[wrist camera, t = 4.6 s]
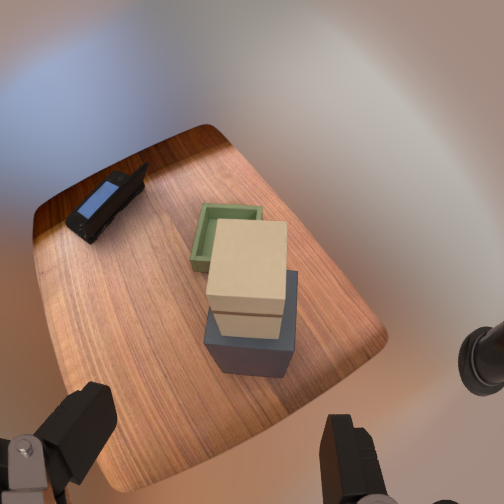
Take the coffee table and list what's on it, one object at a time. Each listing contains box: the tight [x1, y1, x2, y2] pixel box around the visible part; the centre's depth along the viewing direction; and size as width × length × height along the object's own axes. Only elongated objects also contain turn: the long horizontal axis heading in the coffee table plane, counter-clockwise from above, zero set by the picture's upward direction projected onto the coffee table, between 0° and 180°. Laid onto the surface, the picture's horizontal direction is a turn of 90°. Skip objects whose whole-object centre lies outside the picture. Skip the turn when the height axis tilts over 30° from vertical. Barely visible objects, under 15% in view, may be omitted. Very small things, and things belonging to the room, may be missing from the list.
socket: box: [190, 203, 263, 273], centre depth 49 cm, size 10×11×4 cm
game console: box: [65, 162, 149, 244], centre depth 51 cm, size 16×14×9 cm
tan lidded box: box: [206, 219, 287, 339], centre depth 25 cm, size 5×6×9 cm
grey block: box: [204, 270, 298, 378], centre depth 35 cm, size 8×8×15 cm
